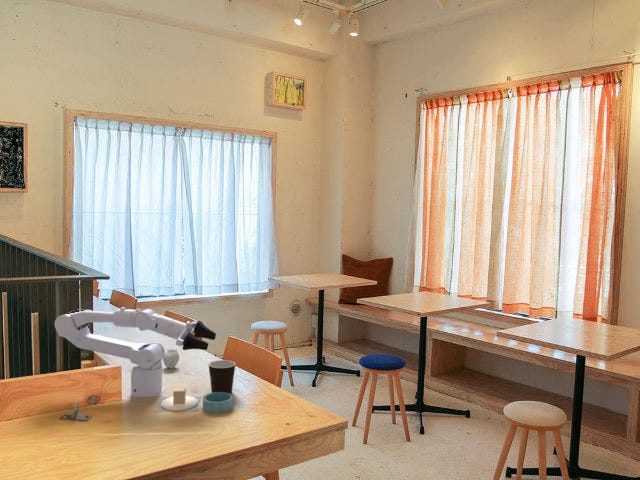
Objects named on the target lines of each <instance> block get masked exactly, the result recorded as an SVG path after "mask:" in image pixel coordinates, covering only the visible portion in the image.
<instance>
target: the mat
mask: <svg viewBox="0 0 640 480" xmlns="http://www.w3.org/2000/svg"><path fill="white" fill-rule="evenodd" d="M170 397H171V396H163V397H162V399H161V401H160V402H159V405H158V407H157V409H156V410H155V412H156V413H169V412H170V413H176V412H179V413H181V412H189V413H190V412H192V413H193V412H198V409H199V406H200V403H201V400H202V396H193V397H194V398H196V399H197V400H198V404H197V405H196V406H195V407H193V408H191V409H187V410H181V411H171V410H166V409H164V408H162V407H161V402H162V401H163V400H165V399H167V398H170Z"/></svg>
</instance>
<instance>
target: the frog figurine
mask: <svg viewBox="0 0 640 480" xmlns="http://www.w3.org/2000/svg"><path fill="white" fill-rule="evenodd" d="M162 361H163V363H164V366H165V367H166V368H167V369H174V368H175V367H176V366H177V365H178V363H179V361H180V353H179V352H178V349H175V348H168V349H167V350H165V354H164V357H163V358H162Z"/></svg>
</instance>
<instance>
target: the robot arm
mask: <svg viewBox="0 0 640 480" xmlns="http://www.w3.org/2000/svg"><path fill="white" fill-rule="evenodd" d="M83 310H84V309H83ZM69 313H70V312H69ZM86 323H88V324H89V323H111V324H112V323H113V325H114V326H115V327H117V328H118V327H119V328H134V329H135V328H138V329H139V331H141V332H143V331H146V330H148V331H151V332H154V333H156V334H160V335H163V336H166V337H168V338H172V339H175V346H177V347H181V348H182V350H184V351H188V350H202V351H203V350H204V351H207V350H208V347H209V343H208V342H207V341H205V340H203V339H207V340H212V341H215V340H216V336H217V333H215V331H213V330H211V329H210V328H209V327H208V326H205V324H204V323H203V322H202V321H201V320H198V321H192V322H191V321H189V320H188V321H187V322H186V323H185V322H183V321H179V320H177V319H174V318H171V317H169V316H165V315H162V314H159V313H156V311H155V310H154V309H151V308H145V309H143V310H141V308H136V309H127V307H123V306H122V307H120V308H118V309H116V310H115V311H114V312H113V311H104V310H94V309H93V311H92V309H86V310H84V311H79V312H75V313H70V314H67V313H66V314H61V315H58V317H56V318H55V321H54V328H55V330H56V332H57V334H58V336H59V337H63V338H65V339H66V340H67V341H69V342H70V343H72V345H74V346H75V347H76V348H79V349H82V350H85V351H86V350H87V351H91V352H95V353H99V354H105V355H110V356H115V357H119V358H122V359H127V360H129V361H130V362H131V364H133V365H134V364H135V366H133V367H132V369H131V371H130V372H131V373H130V397H134V398H135V397H136V398H137V397H138V398H139V397H144V398H145V397H161V396H162V395H163V393H164V391H165V389H166V387H165V386H163V363H162V360H163V357H164V354H165V353H166V350H165V348H164V346H163V345H162V344H161V343H159V342H150V343H146V342H141V343H139V342H138V343H135V342H130V341H125V340H122V339H117V338H113V337H107V336H104V335H103V336H102V335H99V334H94V333H91V330H90V327H89V328H88V326H89V325H88V326H86V327H84V328H82V329H80V330H78V328H80V327H82V325H84V324H86ZM193 333H194V334H193ZM201 338H202V339H201Z"/></svg>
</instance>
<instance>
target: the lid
mask: <svg viewBox="0 0 640 480" xmlns="http://www.w3.org/2000/svg"><path fill="white" fill-rule="evenodd" d="M186 389H187V388H186V387H174V389H173V391H172V392H173V396H169V397H170V398H167V399H165V400H163V401H162V400H161V401H162V402H161V401H160V403H161V407H162V408H164V409H166V410H171V411H181V410H187V409H191V408H193V407H195V406H196V405H197V404H198V400H197V399H196V398H194V397H195V396H191V395H187V393H186V391H187V390H186Z"/></svg>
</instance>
